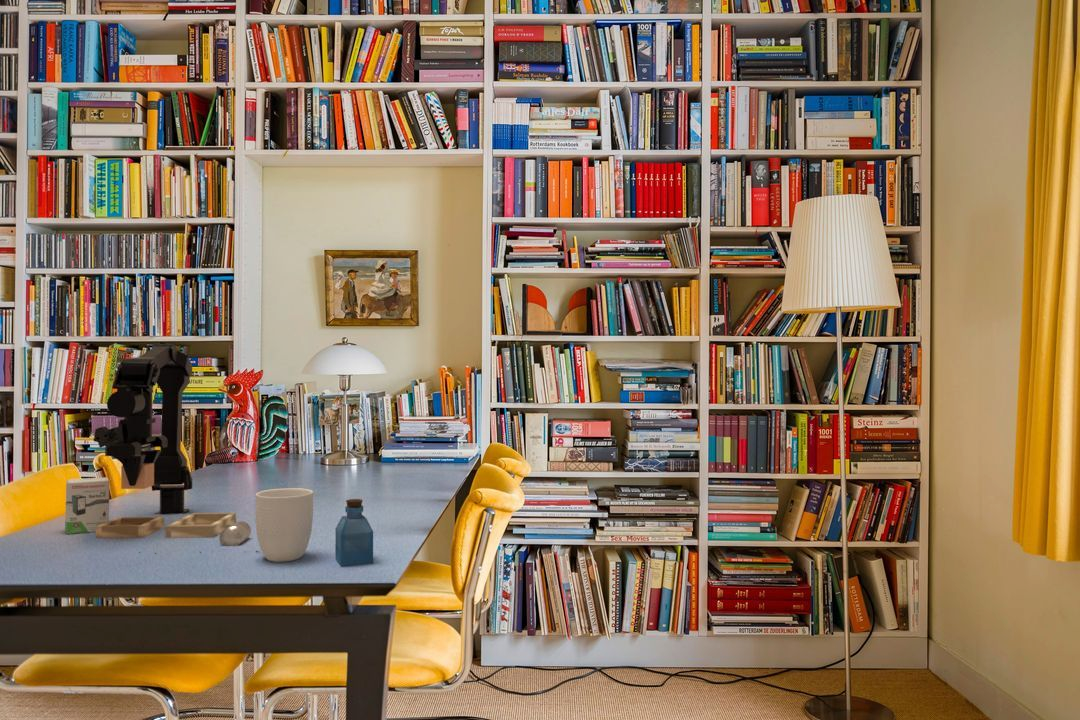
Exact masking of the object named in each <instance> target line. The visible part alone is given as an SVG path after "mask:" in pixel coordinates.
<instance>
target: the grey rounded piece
mask: <svg viewBox="0 0 1080 720" xmlns="http://www.w3.org/2000/svg"><path fill="white" fill-rule="evenodd" d="M251 534H252V528H251V525H250V524H249V523H248V522H246V521H241V520H240V521H236V523H234V524H233V525H231V526H229V527H228V528H226V529H225V530H223V531H222V532H221V533H220V534H219V538H218V539H219V544H220V545H221V546H222V547H223V546H224V547H225V546H227V547H228V546H230V547H231V546H233V547H235V546H239V545H241V544H242V543H244V542H245V541H246V540H249V538H250V536H251Z"/></svg>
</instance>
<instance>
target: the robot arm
mask: <svg viewBox="0 0 1080 720" xmlns="http://www.w3.org/2000/svg"><path fill="white" fill-rule="evenodd" d="M192 374H193V366H192V363H191V360H190V358H189V356H188V355H187V354H185V353H183V352H182V351H180V350H178V347H177V346H176V345H174V344H172V343H168V344H167V343H156V344H153V345H152V347H151V348H150V349H149V350H147V351H146V352H145V353H143V354H142V355H140V356H138V357H125V358H123V359H122V360H121V361H120V363H119V364H118V367H117V368H116V373H115V376H114V380H113V383H112V390H116V391H114V392H112V394H110V395H109V397H108V399H107V401H106V407H107V410H108V412H109V413H110V414H111V415H112V416H114V417H115V418H122V419H119V421H118V426H116V427H113V428H110V429H109V428H108V427H107V426H101V427H98V428H95V430H94V434H93V442H94V443H97V444H98V447H99V448H103V447H104V456H105V457H112V458H113V459H116V460H117V461H118V462H120V463H121V466H123V467H124V470H125V473H126V476H127V479H128V482H129V485H130V486H135V485H136V482H137V479H138V477H139V473H140V470H141V467H142V464H143V463H154V485H153V486H151V487H150V488H151V491H152V492H153V491H154V492H155V491H159V510H158V511H156V512H155V513H154V515H168V514H169V515H174V514H175V515H176V514H177V515H179V514H185V513H188V512H190V508H185V491H188V490H193V477H192V473H191V471H190V467H189V466H188V459H187V458H186V456H185V454H184V453H183V451H182V450H181V443H182V417H183V416H182V413H183V411H182V410H183V409H182V408H183V393H184V391H185V389H187V387H188V385H189V384H190V380H191V379H190V378H191V376H192ZM155 386H158V388H159V389H160V391H161V392H162V395H161V396H162V398H161V400H162V401H161V402H162V403H161V423H160V424H161V425H160V428H161V429H160V430H161V431H160V434H155V435H154V434H153V424H155V423H156V417H153V393H154V387H155ZM156 448H160V449H156Z"/></svg>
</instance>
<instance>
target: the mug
mask: <svg viewBox="0 0 1080 720" xmlns="http://www.w3.org/2000/svg"><path fill="white" fill-rule="evenodd" d="M254 507H255V511H254V515H255V518H254V519H255V520H254V521H255V522H254V523H255V531H256V537H257V542H258V545H259V548H260V550H261V552H262V554H263V556H264V557H265V559H267V561H270V562H276V563H283V562H286V563H287V562H292V561H296V560H299V559H300V558H302V556H303V555H304V554H305V552H306V550H307V548H308V546H309V543H310V539H311V535H312V528H313V521H314V491H313V490H311V489H308V488H301V487H300V488H299V487H295V488H294V487H293V488H292V487H289V488H285V487H284V488H273V489H267V490H261V491H258V492H256V494H255V506H254Z"/></svg>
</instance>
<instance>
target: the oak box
mask: <svg viewBox="0 0 1080 720" xmlns="http://www.w3.org/2000/svg"><path fill="white" fill-rule="evenodd" d="M164 519H165V518H164V516H138V517H137V516H127V517H125V516H124V517H123V516H118V517H115V518H114V519H111V520H110V519H109V521H108V522H106V523H103V524H101V525H98V526H96V532H95V539H97V538H98V539H101V538H102V539H104V538H105V539H106V538H107V539H108V538H111V539H113V538H114V539H115V538H116V539H117V538H118V539H119V538H121V539H122V538H127V539H129V538H146V537H147V536H150V535H152V534H155V533H156V532H158V531H160V530H162V529H164V525H165V523H164V522H165V520H164Z"/></svg>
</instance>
